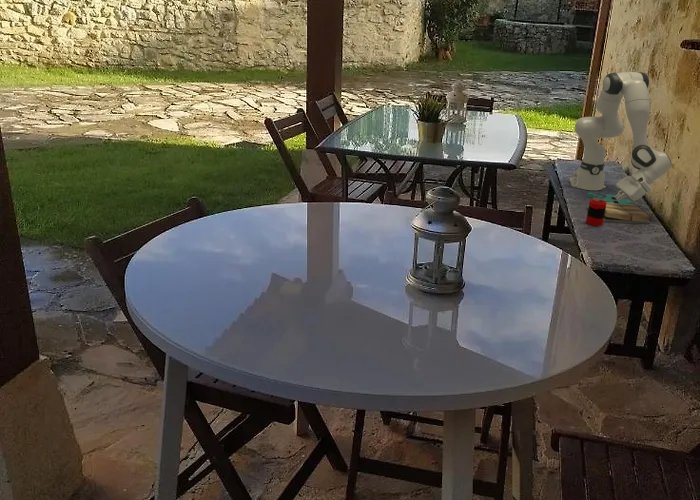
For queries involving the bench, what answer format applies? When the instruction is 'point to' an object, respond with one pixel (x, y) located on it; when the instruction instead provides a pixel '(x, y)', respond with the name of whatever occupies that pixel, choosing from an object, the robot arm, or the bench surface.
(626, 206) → the laid plank
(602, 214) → the soda can
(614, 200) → the alien figure
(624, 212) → the board
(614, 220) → the underlay mat
